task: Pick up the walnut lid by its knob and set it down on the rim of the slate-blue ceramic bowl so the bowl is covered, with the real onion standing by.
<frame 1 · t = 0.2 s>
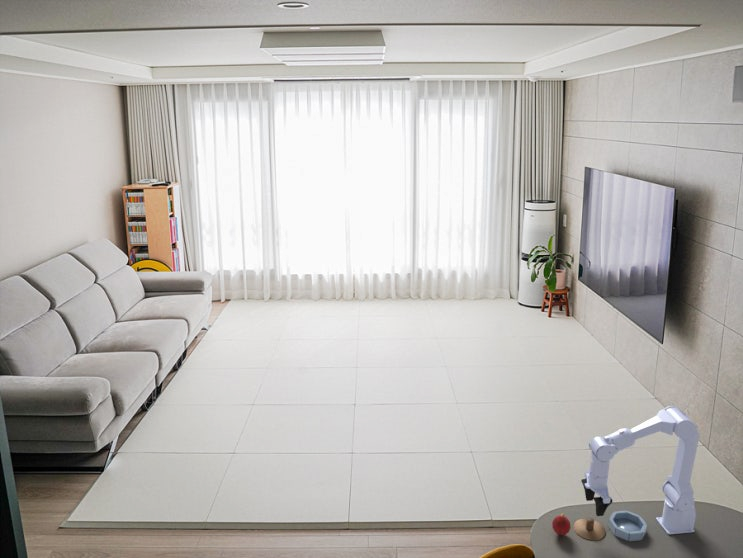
hand: (594, 507, 213), 10 cm above the table, fingers open, 7 cm apart
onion: (560, 535, 216), on the table
lid: (589, 530, 218), on the table
bowl: (626, 529, 218), on the table
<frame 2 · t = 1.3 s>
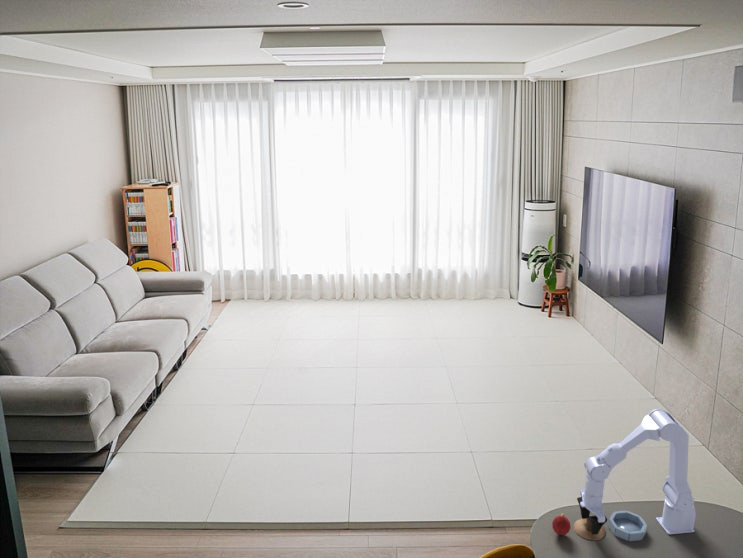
hand: (589, 525, 217), 2 cm above the table, fingers open, 7 cm apart
nothing on the table moved.
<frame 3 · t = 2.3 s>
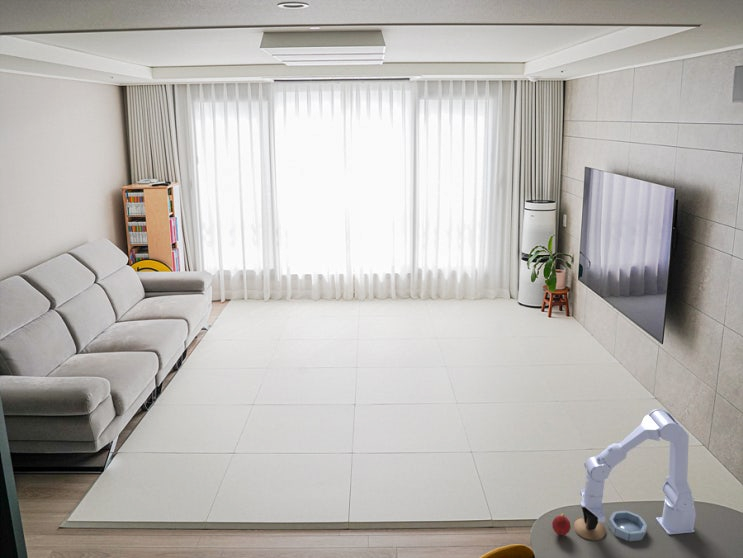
hand: (589, 525, 217), 2 cm above the table, fingers closed on lid, 2 cm apart
lid: (589, 529, 218), on the table, touching gripper
everything else where it was.
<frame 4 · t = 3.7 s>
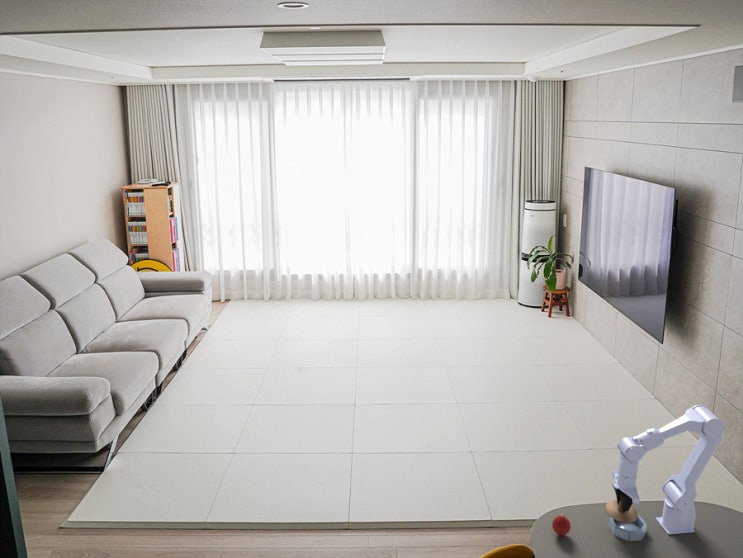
hand: (623, 507, 215), 9 cm above the table, fingers closed on lid, 2 cm apart
lid: (621, 512, 215), point 7 cm above the table, touching gripper
everything else where it was.
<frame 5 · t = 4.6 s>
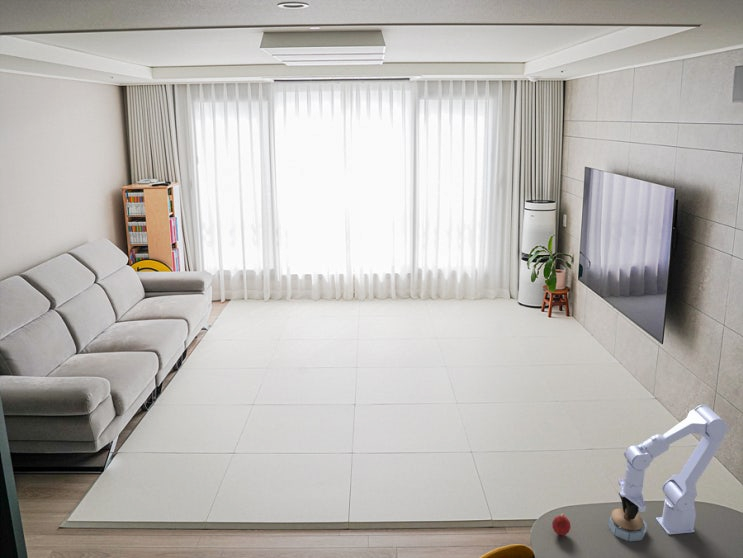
hand: (628, 515, 216), 6 cm above the table, fingers closed on lid, 2 cm apart
lid: (627, 520, 216), point 4 cm above the table, touching gripper
everything else where it was.
when the fingers open (6 cm above the table, at t = 5.1 s): lid stays where it is, resting on bowl.
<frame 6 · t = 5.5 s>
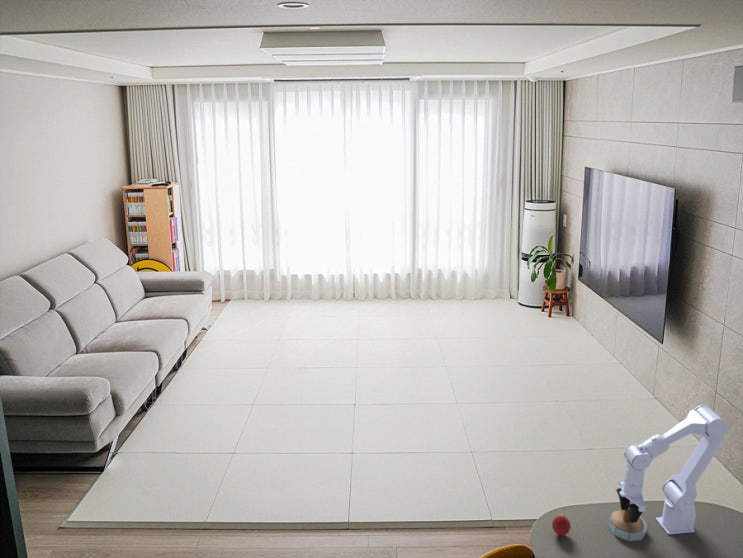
hand: (628, 515, 216), 6 cm above the table, fingers open, 6 cm apart
lid: (626, 521, 217), point 3 cm above the table, touching bowl
everything else where it was.
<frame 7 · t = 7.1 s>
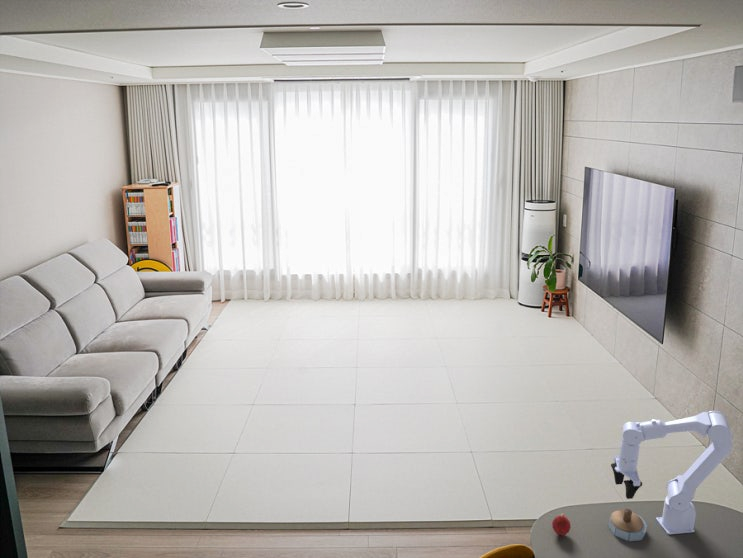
hand: (624, 490, 220), 10 cm above the table, fingers open, 7 cm apart
nothing on the table moved.
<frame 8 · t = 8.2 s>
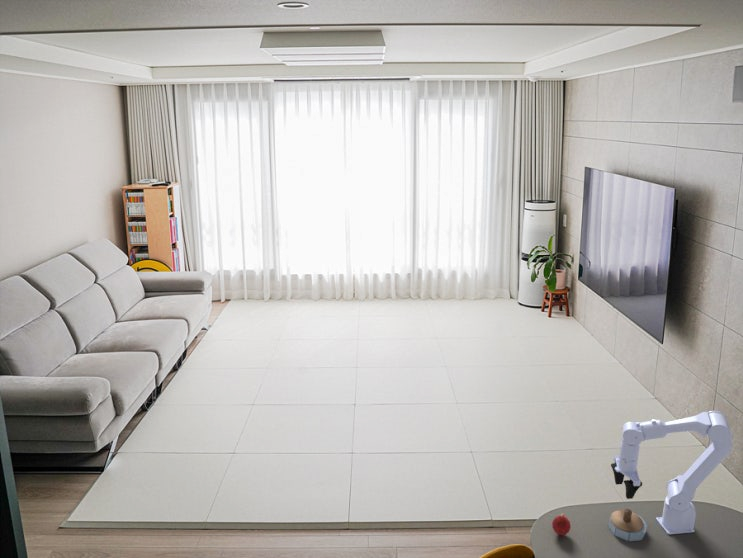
hand: (624, 490, 220), 10 cm above the table, fingers open, 7 cm apart
nothing on the table moved.
at the end: lid 0.5 cm off-centre on the bowl, point 3.0 cm above the bowl's base; lid tilted 0°; the gripper is holding nothing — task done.
